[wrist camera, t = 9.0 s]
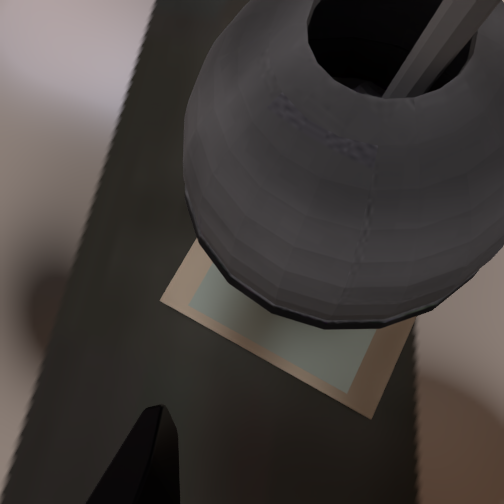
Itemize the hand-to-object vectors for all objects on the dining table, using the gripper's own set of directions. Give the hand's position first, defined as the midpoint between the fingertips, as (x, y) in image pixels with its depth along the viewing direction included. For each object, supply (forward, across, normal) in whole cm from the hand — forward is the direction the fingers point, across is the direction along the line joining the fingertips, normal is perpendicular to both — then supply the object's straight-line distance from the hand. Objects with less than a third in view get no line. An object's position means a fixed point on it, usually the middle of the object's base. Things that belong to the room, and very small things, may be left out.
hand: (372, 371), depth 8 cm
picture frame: (+12, 0, +6) cm, 13 cm away
